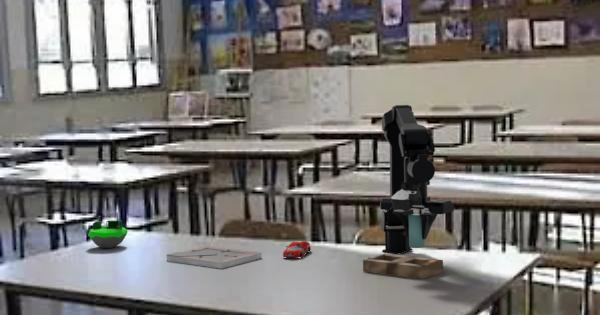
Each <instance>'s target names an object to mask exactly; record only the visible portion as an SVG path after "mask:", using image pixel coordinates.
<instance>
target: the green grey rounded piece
mask: <svg viewBox="0 0 600 315" xmlns="http://www.w3.org/2000/svg"><path fill="white" fill-rule="evenodd" d="M115 216H116V220H115V219H114V220H111V219H110V220H107V221H106V225H105V226H103V225H102V220H98V221H94V222H93V223H92V228H90V229H89V232H88V234H87V236H88V237H89V238H90V240H91V242H93V244H95V245H96V246H97V247H99V248H100V249H114V248H115V247H117V246H119V245H120V244H122V243H123V241H124V239H125V238H126V236H127V235H128V229H127V228H125V227H124V226H123V225H124V224H123V220H121V219H119V213H118V212H116V215H115Z"/></svg>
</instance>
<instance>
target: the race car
mask: <svg viewBox="0 0 600 315" xmlns="http://www.w3.org/2000/svg"><path fill="white" fill-rule="evenodd" d="M285 247H286V249H284V250H283V253H282V256H283V258H284V257H286V258H285V259H298V257H301V256H303V255H304V254H305V253H307V252H308V251H310V250H311V249H312V248H311V243H310V242H307V241H305V240H295V241H294V240H293V241H292V242H291V243H290V244H288V245H286V246H285ZM310 252H311V251H310ZM307 254H308V253H307ZM304 256H305V255H304ZM304 256H303V257H304Z"/></svg>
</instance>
